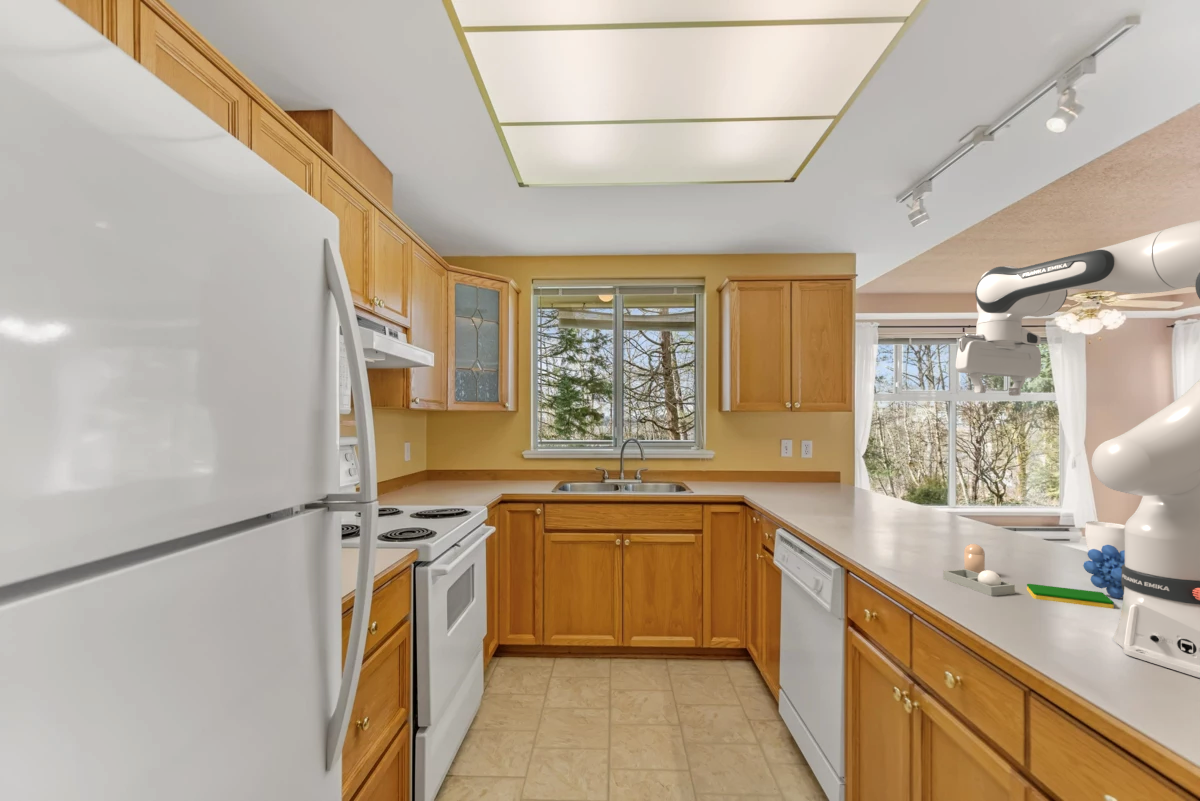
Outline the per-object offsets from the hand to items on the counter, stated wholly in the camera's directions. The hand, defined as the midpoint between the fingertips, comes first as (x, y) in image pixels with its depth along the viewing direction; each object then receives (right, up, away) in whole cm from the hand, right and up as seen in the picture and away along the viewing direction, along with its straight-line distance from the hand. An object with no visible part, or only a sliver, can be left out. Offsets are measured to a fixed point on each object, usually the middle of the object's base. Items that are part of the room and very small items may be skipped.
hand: (997, 394), depth 131 cm
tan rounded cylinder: (+3, -47, +12) cm, 49 cm away
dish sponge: (+11, -47, -6) cm, 49 cm away
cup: (+43, -47, +18) cm, 66 cm away
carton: (-3, -47, +2) cm, 47 cm away
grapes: (+24, -47, -5) cm, 53 cm away
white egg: (-2, -46, -1) cm, 46 cm away
